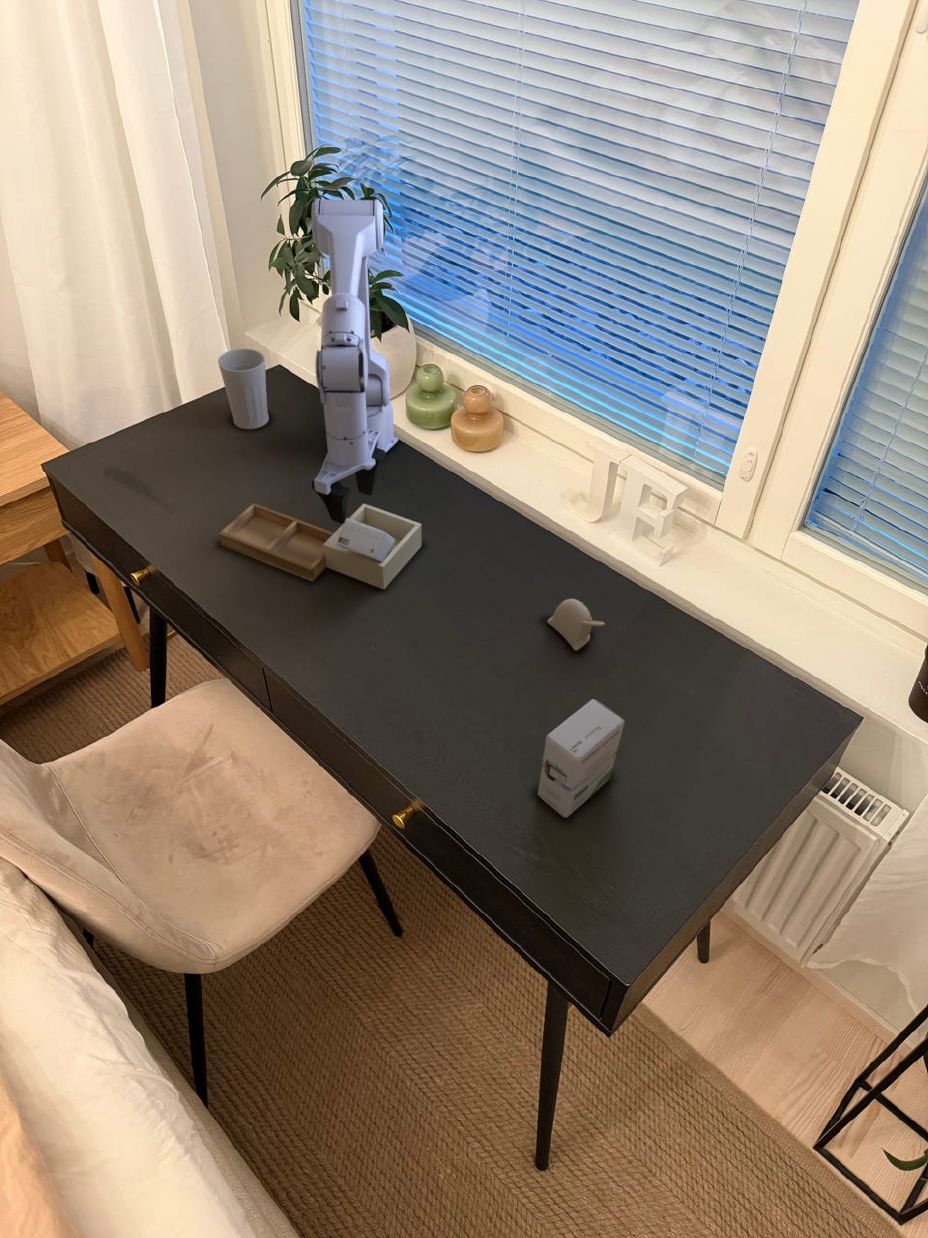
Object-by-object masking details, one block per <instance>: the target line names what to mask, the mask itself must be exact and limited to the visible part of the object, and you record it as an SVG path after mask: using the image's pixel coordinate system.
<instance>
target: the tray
mask: <svg viewBox="0 0 928 1238" xmlns="http://www.w3.org/2000/svg"><path fill="white" fill-rule="evenodd" d="M334 533H335V532H332V531H331V530H327V529H326V528H325V529H324V528H321V527H320V526H316V525H313V524H311V523H309V522H306V521H303V520H300V519H297V518H295V517H292V516H290V515H288V514H284V513H282V512H280V511H277V510H273V509H271V508H269V507H265V506H263V505H260V504H258V503H255V502H253V503H252V504H251V505H250V506H248V507H247V508H246V509H245V510H244V511H242V512H241V513H240V515H238V516H237V517H236V518H234V520H232V521H231V522H230V523H229V524H228V525H227V526H225V528H224V529H222V530H221V531H220V532H219V533H218V536H219V541H220V545H221V546H222V547H225V548H226V549H229V550H232V551H234V552H237V553H240V554H242V555H245V556H247V557H249V558H253V559H255V560H256V561H259V562H262V563H265V564H267V565H269V566H272V567H275V568H277V569H280V570H282V571H285V572H286V573H289V574H292V575H295V576H298V577H300V578H302V579H304V580H308V581H310V582H312V583H313V582H314V581H315V580H316V579H317V578H318V577H319V576H320V575H321V574H322V572H323V571H325V570H326V568H327V567H326V559H325V555H324V548H323V544H324V543H325V542H326V541H327V540H328V539H329V538H330V537H331V536H332V535H333V534H334Z"/></svg>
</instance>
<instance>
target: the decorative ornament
mask: <svg viewBox="0 0 928 1238" xmlns="http://www.w3.org/2000/svg"><path fill="white" fill-rule="evenodd" d="M546 622H547V624H549V626H551V627H552V628H554V629H555V631H557V632H558V633H559V634H560V635H561V636H562V637H563V638H564V639H565V640H566V641H567V643H568V644H569V645H570V647H571V648H572V649H573V650H574V651H576V652H577V651H579V650H580V649H581V648H582V647H584V646H585V645H586V644H587V643H588V642H590V638H591V635H590V634H591V632H592V627H604V626H605V625H606V623H605V622H603V621H599V620H593V616H592V615H591V612H590V610H589V609H588V606H587V605H585V604H584V603H583V601H580V600H579V599H575V598H567V599H565V600H563V601H562V602H560V604H558V605H557V608H556V609H555V610H554V612H553V615H552V616H551V617H550V618H548V620H547V621H546Z"/></svg>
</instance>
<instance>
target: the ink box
mask: <svg viewBox="0 0 928 1238" xmlns="http://www.w3.org/2000/svg"><path fill="white" fill-rule="evenodd" d="M625 723H626V722H625V719H623V718H622V717H620V715H618V714H617V713H615V712H614V711H613V710H611V708H609V707H607V706H606V705H604V704H603V703H601V702H600V701H598V700H597V699H594V698H592V699H591V700H589V701H588V702H587V703H586V704H584V705H583V706H582V707H581V708H579V709H578V710H577V711H575V712H574V713H573V714H571V716H569V717H567V718H566V720H564V721H563V722H562V723H560V724H559V725H558V726H557V727H556V728H554V729H553V730H552V731H550V732H549V733H548V734H547V735H546V737H545V744H544V750H543V757H542V764H541V771H540V776H539V783H538V789H537V796H538V797H540V798H541V800H543V801H544V802H545V803H546V804H547V805H548V806H550V807H551V808H552V809H553V810H554V811H555V812H557V813H558V814H559V815H560V816H562V817H563V818H565V819H566V818H568V817H570V815H572V814H573V813H574V812H575V811H576V810H577V809H578V808H580V807H581V806H582V805H583V804H584V803H586V801H587V800H588V799H590V798H591V797H592V796H593V795H595V793H596V792H597V791H599V790H600V788H602V787H603V786H604V785H606V783H608V781H610V780H611V777H612V773H613V768H614V763H615V760H616V756H617V754H618V749H619V745H620V741H621V737H622V734H623V731H624V725H625Z"/></svg>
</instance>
